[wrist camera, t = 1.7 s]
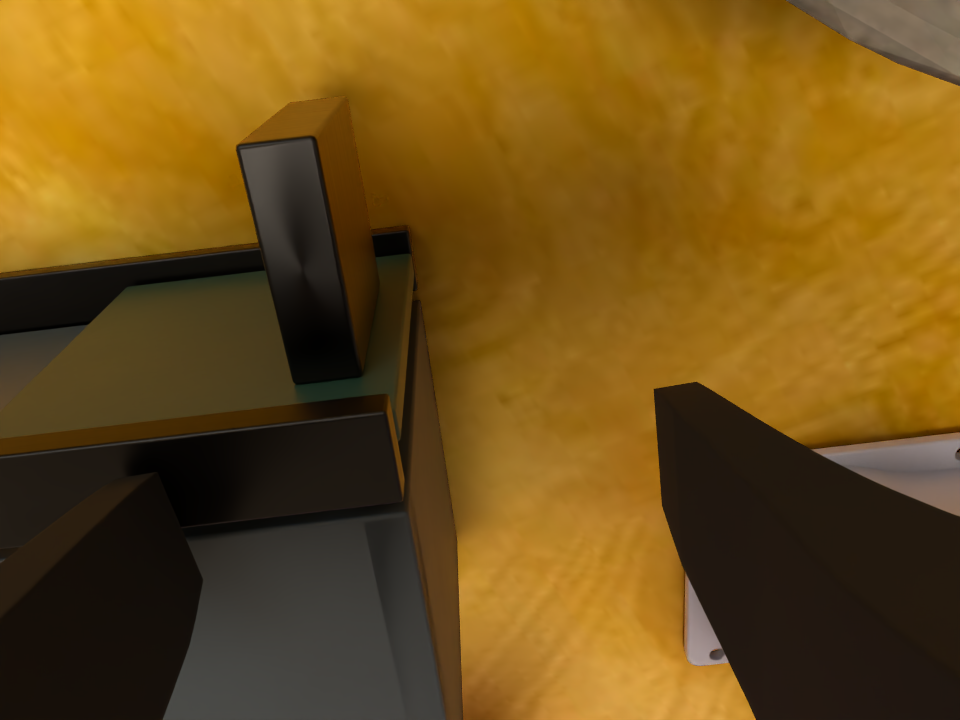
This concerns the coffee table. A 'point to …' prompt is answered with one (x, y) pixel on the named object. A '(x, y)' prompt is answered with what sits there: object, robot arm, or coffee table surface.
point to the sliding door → (250, 305)
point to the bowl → (898, 30)
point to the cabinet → (264, 514)
